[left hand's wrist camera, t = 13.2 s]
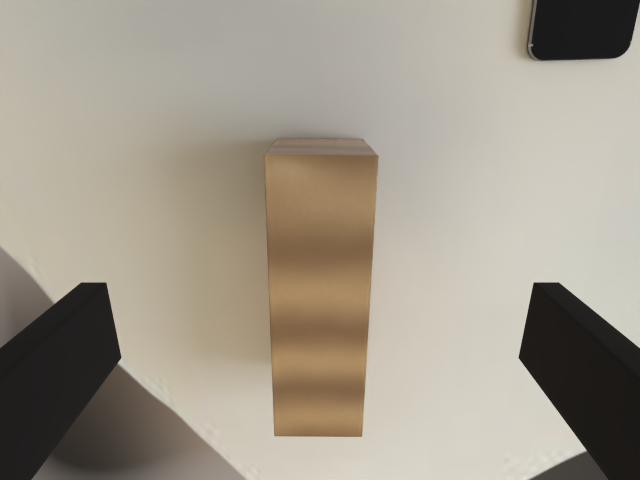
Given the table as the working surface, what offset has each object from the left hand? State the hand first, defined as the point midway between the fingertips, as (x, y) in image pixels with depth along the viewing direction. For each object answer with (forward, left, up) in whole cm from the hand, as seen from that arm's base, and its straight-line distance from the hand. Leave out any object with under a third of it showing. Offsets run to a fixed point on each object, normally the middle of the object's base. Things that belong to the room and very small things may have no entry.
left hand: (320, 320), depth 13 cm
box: (+8, +1, -22) cm, 24 cm away
